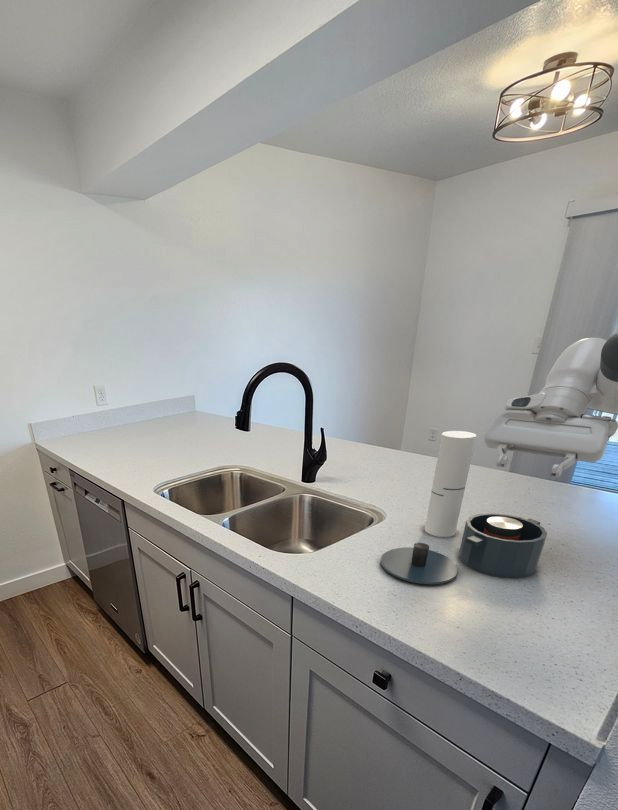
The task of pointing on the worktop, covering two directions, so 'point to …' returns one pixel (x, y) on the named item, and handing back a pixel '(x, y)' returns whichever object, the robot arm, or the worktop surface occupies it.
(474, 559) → the pot
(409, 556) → the pot lid
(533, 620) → the worktop surface
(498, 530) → the can
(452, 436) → the cylindrical container
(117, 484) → the worktop surface
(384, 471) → the worktop surface
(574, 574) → the worktop surface
